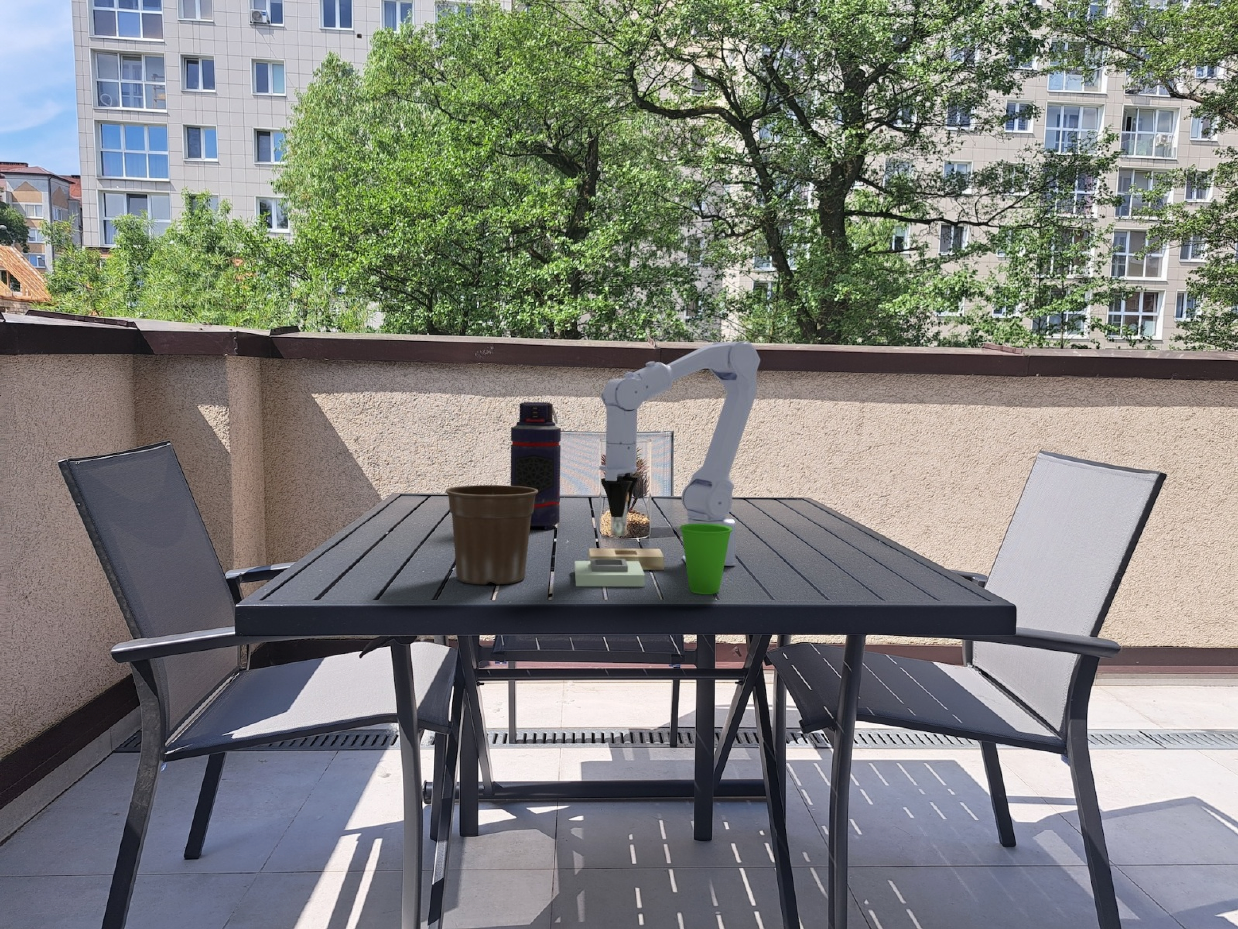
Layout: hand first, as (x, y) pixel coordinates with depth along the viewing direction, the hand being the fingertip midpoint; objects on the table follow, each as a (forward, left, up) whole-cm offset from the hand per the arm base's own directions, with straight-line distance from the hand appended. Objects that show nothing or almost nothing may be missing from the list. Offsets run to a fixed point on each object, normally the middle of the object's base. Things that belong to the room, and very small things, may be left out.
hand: (619, 515), depth 170 cm
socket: (+2, +7, -11) cm, 13 cm away
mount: (-2, -5, -11) cm, 12 cm away
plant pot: (+23, +7, -11) cm, 27 cm away
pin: (0, 0, -4) cm, 4 cm away
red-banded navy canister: (+17, -51, -11) cm, 54 cm away
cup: (-14, +16, -11) cm, 24 cm away
